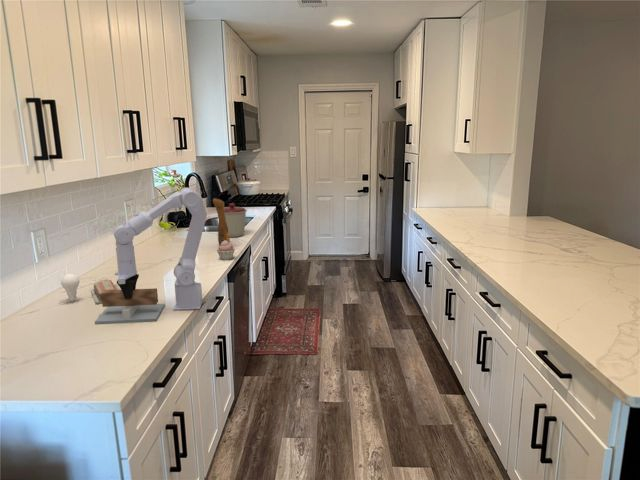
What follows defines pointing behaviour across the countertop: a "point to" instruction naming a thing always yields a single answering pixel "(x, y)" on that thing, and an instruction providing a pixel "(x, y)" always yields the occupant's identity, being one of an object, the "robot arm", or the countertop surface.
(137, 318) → the ridge board
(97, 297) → the packaged product
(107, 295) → the walnut batten
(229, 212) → the canister
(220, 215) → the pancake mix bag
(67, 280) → the lightbulb
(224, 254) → the cupcake
